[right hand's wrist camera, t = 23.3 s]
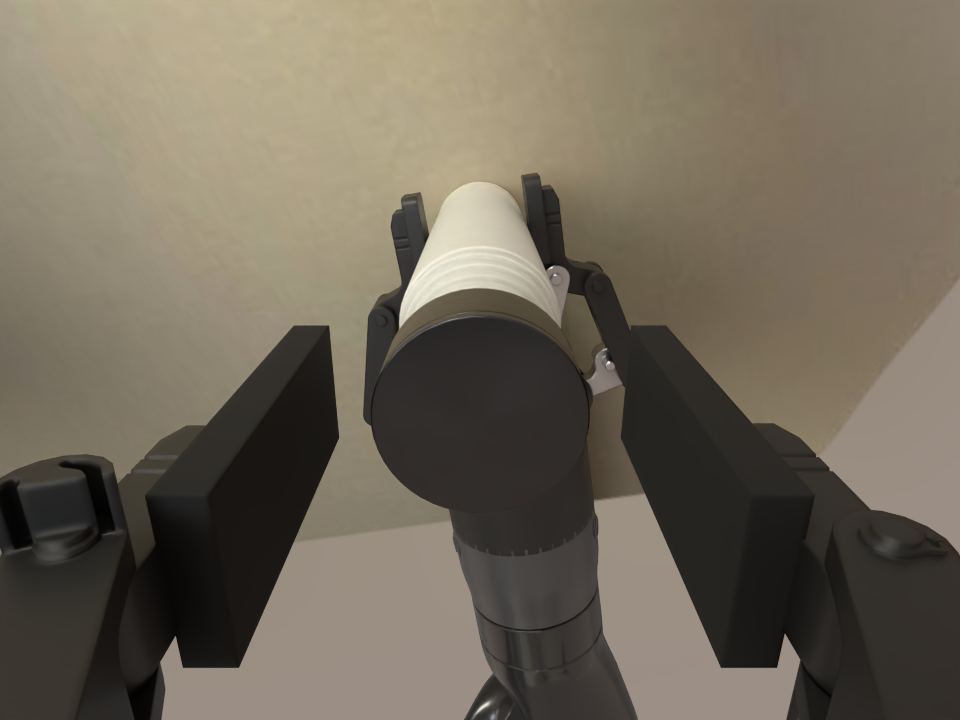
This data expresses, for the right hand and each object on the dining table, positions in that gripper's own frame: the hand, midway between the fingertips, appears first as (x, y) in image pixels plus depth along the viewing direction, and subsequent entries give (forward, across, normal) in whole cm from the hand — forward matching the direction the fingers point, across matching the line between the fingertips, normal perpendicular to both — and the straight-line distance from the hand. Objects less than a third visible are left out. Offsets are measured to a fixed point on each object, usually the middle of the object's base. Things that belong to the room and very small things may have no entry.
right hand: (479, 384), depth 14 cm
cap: (-1, 0, 0) cm, 1 cm away
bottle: (+22, 0, 0) cm, 22 cm away
